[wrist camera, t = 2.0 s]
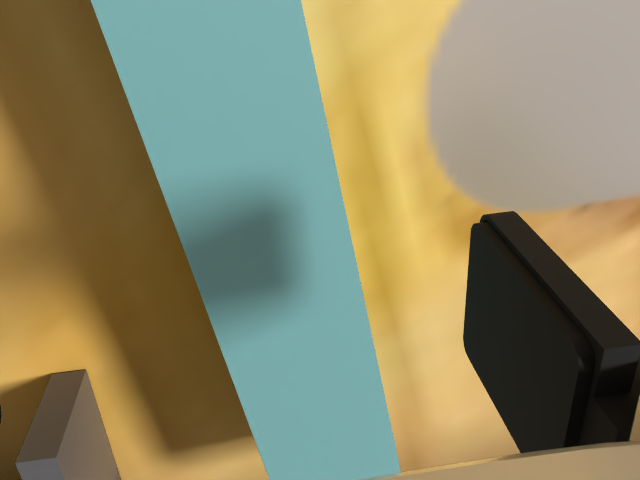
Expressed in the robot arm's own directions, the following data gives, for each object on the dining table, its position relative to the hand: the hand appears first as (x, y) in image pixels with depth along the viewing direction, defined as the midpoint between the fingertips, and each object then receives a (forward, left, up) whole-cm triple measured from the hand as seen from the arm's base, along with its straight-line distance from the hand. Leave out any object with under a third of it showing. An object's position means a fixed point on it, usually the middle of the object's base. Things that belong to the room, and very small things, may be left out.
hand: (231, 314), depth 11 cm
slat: (-1, 0, -9) cm, 9 cm away
